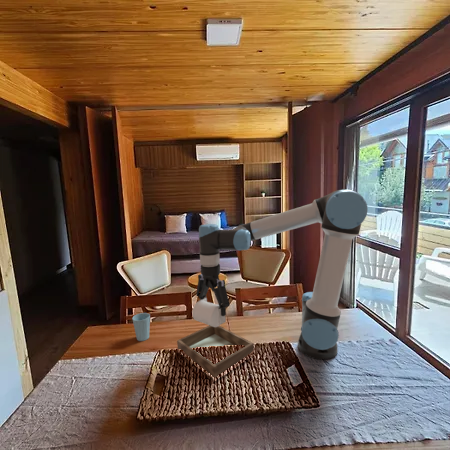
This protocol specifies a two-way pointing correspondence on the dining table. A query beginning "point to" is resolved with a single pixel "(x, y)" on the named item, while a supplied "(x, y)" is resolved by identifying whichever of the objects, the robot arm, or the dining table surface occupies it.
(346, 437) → the dining table surface
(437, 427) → the dining table surface
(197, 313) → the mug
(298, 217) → the robot arm
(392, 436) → the dining table surface
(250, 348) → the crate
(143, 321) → the cup
